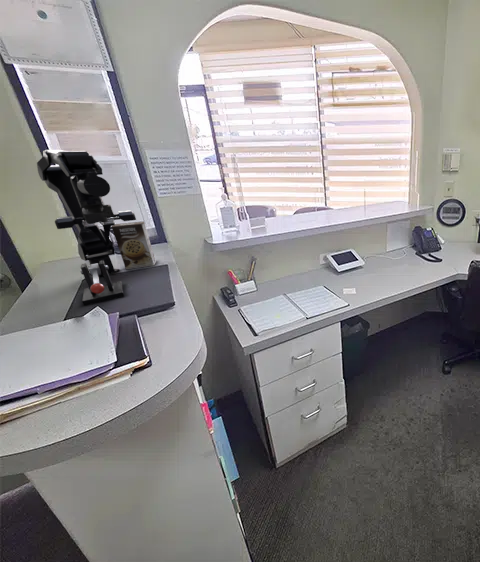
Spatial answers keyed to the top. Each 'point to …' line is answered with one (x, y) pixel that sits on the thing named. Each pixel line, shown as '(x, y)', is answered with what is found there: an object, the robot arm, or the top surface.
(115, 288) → the black lever stand
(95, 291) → the lever
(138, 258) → the cookie box
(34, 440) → the top surface
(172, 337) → the top surface
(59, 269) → the top surface
